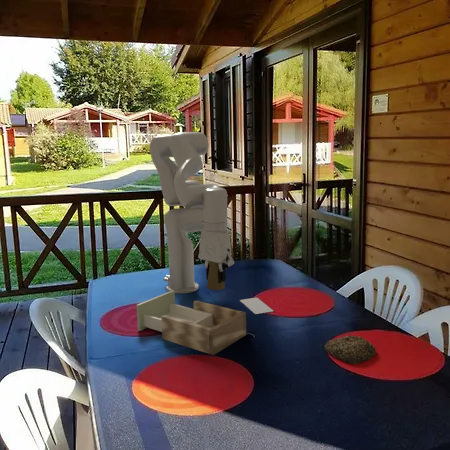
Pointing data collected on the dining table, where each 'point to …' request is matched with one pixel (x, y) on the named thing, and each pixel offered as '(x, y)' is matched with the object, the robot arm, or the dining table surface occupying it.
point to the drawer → (168, 312)
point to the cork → (214, 277)
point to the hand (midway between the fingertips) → (215, 279)
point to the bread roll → (351, 349)
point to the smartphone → (256, 306)
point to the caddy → (206, 329)
